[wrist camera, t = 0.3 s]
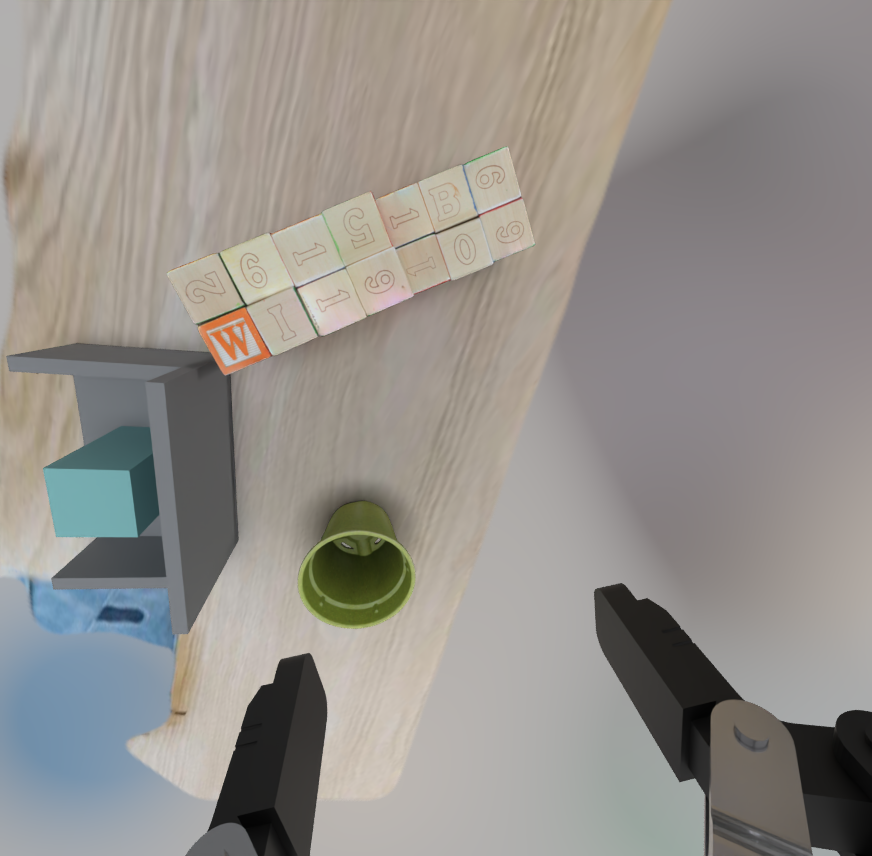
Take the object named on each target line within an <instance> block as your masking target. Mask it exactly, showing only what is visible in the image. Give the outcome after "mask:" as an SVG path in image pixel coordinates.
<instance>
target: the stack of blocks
mask: <svg viewBox="0 0 872 856" xmlns="http://www.w3.org/2000/svg"><path fill="white" fill-rule="evenodd" d="M534 245H535V242H534V238H533V234H532V230H531V227H530V223H529V220H528V216H527V212H526V208H525V204H524V200H523V199H522V198H521V193H520V189H519V185H518V181H517V177H516V174H515V170H514V167H513V163H512V159H511V155H510V152H509V149H508V147H507V146H506V147H503V148H501V149H498V150H496V151H494V152H491V153H489V154H486V155H484V156H482V157H479V158H477V159H474V160H472V161H470V162H468V163H466V164H464V165H458V166H455V167H453V168H450V169H448V170H446V171H443V172H441V173H438V174H436V175H434V176H431V177H429V178H426V179H424V180H422V181H419V182H418V183H414V184H411V185H409V186H406V187H404V188H401V189H399V190H397V191H394V192H392V193H390V194H387V195H385V196H383V197H380V198H378V199H376V200H375V199H374V196H373V194H372V192H371V191H369V192H367V193H364V194H362V195H360V196H357V197H355V198H353V199H350V200H348V201H345V202H343V203H341V204H338V205H336V206H334V207H331V208H329V209H326V210H324V211H323V212H322V213H321V214H319V215H316V216H314V217H311V218H308V219H306V220H304V221H301V222H299V223H296V224H294V225H292V226H289V227H287V228H284V229H282V230H279V231H277V232H275V233H273V234H271V233H266V234H263V235H261V236H258V237H256V238H253V239H251V240H248V241H246V242H244V243H241V244H239V245H236V246H234V247H231V248H228V249H226V250H223V251H222V252H220V253H215V254H211V255H209V256H206V257H204V258H201V259H198V260H196V261H193V262H191V263H188V264H185V265H183V266H180V267H178V268H175V269H173V270H170V271H169V272H167V276H168V278H169V279H170V281H171V283H172V285H173V287H174V288H175V290H176V292H177V294H178V296H179V297H180V299H181V301H182V303H183V305H184V306H185V308H186V310H187V312H188V314H189V316H190V318H191V319H192V321H193V323H194V324H197V325H198V330H199V333H200V335H201V337H202V338H203V340H204V342H205V343H206V345H207V347H208V349H209V351H210V352H211V354H212V356H213V357H214V359H215V361H216V363H217V364H218V366H219V368H220V370H221V371H222V373H223V374H224V375H225V376H226V375H228V374H231V373H233V372H236V371H238V370H240V369H243V368H245V367H247V366H250V365H252V364H255V363H257V362H260V361H262V360H264V359H267V358H269V357H271V356H276V355H278V354H281V353H283V352H285V351H287V350H290V349H292V348H294V347H296V346H299V345H301V344H303V343H305V342H308V341H310V340H312V339H314V338H316V337H318V336H326V335H328V334H331V333H333V332H335V331H337V330H339V329H342V328H344V327H347V326H349V325H351V324H353V323H356V322H358V321H360V320H362V319H364V318H366V317H368V316H370V315H373V314H375V313H377V312H380V311H382V310H384V309H386V308H389V307H391V306H393V305H396V304H398V303H400V302H403V301H405V300H407V299H410V298H412V297H413V296H414V294H417V293H419V292H422V291H424V290H427V289H429V288H432V287H434V286H437V285H439V284H442V283H444V282H447V281H454V280H456V279H459V278H461V277H464V276H467V275H469V274H472V273H474V272H476V271H479V270H481V269H484V268H486V267H489V266H491V265H493V263H494V262H495V261H497V260H500V259H502V258H505V257H507V256H510V255H512V254H515V253H517V252H520V251H522V250H525V249H527V248H530V247H532V246H534Z"/></svg>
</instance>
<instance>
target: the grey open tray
mask: <svg viewBox="0 0 872 856" xmlns="http://www.w3.org/2000/svg"><path fill="white" fill-rule="evenodd" d="M6 357H7V362H8V367H9V371H12V372H29V373H46V374H63V375H73V377H74V383H75V389H76V396H77V402H78V408H79V415H80V421H81V427H82V433H83V440H84V446H85V445H87V444H89V443H91V442H93V441H94V440H96V439H98V438H100V437H102V436H104V435H106V434H107V433H109V432H111V431H113V430H115V429H117V428H118V427H120V426H133V427H150V431H151V440H152V449H153V458H154V468H155V477H156V486H157V495H158V504H159V514H160V515H159V516H158V517H157V518H156V519H155V520H154V521H153V522H152V523H151V524H150V525H149V526H148V527H147V528H146V529H145V530H144V531H143V532H142V534H141V535H140V536H139V537H97V538H96V539H95V540H94V541H93V542H91V543H90V544H89V545H88V546H87V547H86V548H85V549H84V550H82V551H81V552H80V553H79V554H78V555H77V556H76V557H75V558H74V559H72V560H71V561H70V562H69V563H68V564H67V565H66V566H65V567H64V568H62V569H61V570H60V571H59V572H58V573H57V574H56V575H55V576H54V577H52V578H51V579H52V584H53V589H125V588H168V596H169V605H170V615H171V624H172V633H173V634H188V633H189V631H190V629H191V627H192V626H193V624H194V622H195V620H196V618H197V616H198V614H199V612H200V611H201V609H202V607H203V605H204V603H205V601H206V599H207V598H208V596H209V594H210V592H211V590H212V588H213V586H214V585H215V583H216V581H217V579H218V577H219V575H220V573H221V571H222V570H223V568H224V566H225V564H226V562H227V560H228V558H229V557H230V555H231V553H232V551H233V549H234V547H235V545H236V544H237V542H238V522H237V502H236V481H235V461H234V441H233V420H232V400H231V380H230V374H228V375H226V376H225V375H224V374H223V373H222V371H221V370H220V368H219V366H218V364H217V363H216V361H215V359H214V357H213V356H212V354H211V353H208V352H193V351H179V350H165V349H150V348H136V347H122V346H107V345H93V344H79V343H76V344H71V345H65V346H59V347H54V348H48V349H43V350H37V351H32V352H26V353H21V354H15V355H9V356H6Z"/></svg>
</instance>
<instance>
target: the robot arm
mask: <svg viewBox="0 0 872 856" xmlns="http://www.w3.org/2000/svg"><path fill="white" fill-rule="evenodd" d="M594 600H595V619H596V631H597V637H598V640H599V643H600V646H601V648H602V651H603V653H604V655H605V656H606V658H607V660H608V661H609V663H610V665H611V667H612V668H613V670H614V672H615V673H616V675H617V677H618V678H619V680H620V682H621V683H622V685H623V687H624V689H625V690H626V692H627V694H628V695H629V697H630V699H631V700H632V702H633V704H634V705H635V707H636V709H637V710H638V712H639V714H640V716H641V717H642V719H643V721H644V722H645V724H646V726H647V728H648V729H649V731H650V733H651V734H652V736H653V738H654V739H655V741H656V743H657V744H658V746H659V748H660V750H661V751H662V753H663V755H664V756H665V758H666V760H667V761H668V763H669V765H670V766H671V768H672V770H673V772H674V773H675V775H676V777H677V778H678V780H679V782H682V781H686V780H690V779H694V778H695V779H696V780H697V782H698V783H699V785H700V787H701V788H702V790H703V792H704V793H705V801H704V802H705V803H704V808H705V809H704V856H813V854H812V849H811V847H816V848H822V849H829V850H835V851H837V852H838V853H839V854H840V856H872V712H868V711H862V710H852V711H847V712H845V713H843V714H841V715H840V716H839V717H838V719H837V721H836V725H835V727H824V726H814V725H803V724H793V723H787V722H784V721H780V720H778V719H777V718H776V717H775V716H774V715H772V714H771V713H770V712H768V711H767V710H765V709H763V708H762V707H760V706H758V705H755V704H753V703H750V702H747V701H745V700H743V699H742V698H741V697H740V696H739V695H738V693H737V692H736V691H735V690H734V689H733V688H732V687H731V685H730V684H729V683H728V682H727V681H726V679H725V678H724V677H723V676H722V675H721V674H720V672H719V671H718V670H717V669H716V668H715V667H714V665H713V664H712V663H711V662H710V661H709V660H708V658H707V657H706V656H705V655H704V654H703V653H702V651H701V650H700V649H699V648H698V647H697V646H696V644H695V643H693V642H692V640H691V639H690V638H689V636H688V635H687V634H686V633H685V632H684V630H681V628H680V626H679V624H678V623H677V622H676V621H675V620H674V619H673V618H672V616H671V615H670V614H669V613H668V612H667V611H666V610H665V609H663V608H662V607H660V606H659V605H657V604H656V603H654V602H652V601H651V600H649V599H648V598H646V599H642V600H638V601H637V600H636V598H635V597H634V596H633V595H632V593H631V592H630V591H629V590H628V588H627V587H626V586H625V585H624V584H622V583H620V584H616V585H611V586H606V587H602V588H597V589H595V592H594ZM326 722H327V700H326V694H325V691H324V688H323V685H322V682H321V680H320V677H319V674H318V671H317V669H316V666H315V663H314V660H313V658H312V656H311V654H310V653H307V654H302V655H298V656H294V657H289V658H285V659H281V660H280V662H279V664H278V667H277V671H276V674H275V678H274V682H273V683H272V684H267V685H263V686H261V688H260V689H259V690H258V692H257V693H256V695H255V696H254V698H253V699H252V701H251V702H250V704H249V705H248V707H247V711H246V714H245V717H244V720H243V723H242V726H241V732H240V733H239V736H238V739H237V742H236V745H235V747H236V749H235V751H234V752H233V755H232V758H231V761H230V764H229V767H228V771H227V774H226V777H225V780H224V783H223V786H222V790H221V793H220V796H219V799H218V802H217V806H216V809H215V812H214V815H213V818H212V821H211V824H210V827H209V829H208V831H207V833H206V834H205V835H203V836H202V837H201V838H200V839H199V840H198V841H197V842H196V843H195V844H194V845H193V846H192V847H191V849H190V850H189V851H188V853H187V854H186V856H310V848H311V840H312V832H313V824H314V817H315V808H316V801H317V793H318V785H319V777H320V769H321V761H322V754H323V746H324V738H325V730H326Z"/></svg>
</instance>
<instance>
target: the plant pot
mask: <svg viewBox="0 0 872 856" xmlns="http://www.w3.org/2000/svg"><path fill="white" fill-rule="evenodd" d="M378 538H381V541H380V542H379V543H378V544H375V541H376V540H377V539H378ZM342 542H344V543H345V544H347V545H349V546H351V547H353V549H349V548H346V547H344V546H343V545H342V544H341V543H342ZM414 585H415V568H414V564H413V561H412V559H411V557H410V555H409V553H408V552H407V550H406V549H405V548H404V547H403V546H402V545H401V544H400V543H399V542H398V541H397V539H396V536H395V533H394V531H393V528H392V525H391V522H390V520H389V517H388V516H387V514H386V512H385V511H384V510H383V509H382V508H381V507H379V506H378V505H376V504H374V503H371V502H367V501H359V502H354V503H349V504H345V505H343V506H342V507H340V508H339V509H338V510H337V511H336V512H335V513H334V514H333V516H332V517H331V519H330V522H329V524H328V526H327V528H326V530H325V532H324V534H323V537H322V539H321V541H320V542H319V543H317V544H316V545H315V546H314V547H313V548H312V549H311V550H310V551H309V552H308V554H307V555H306V557H305V558H304V560H303V562H302V564H301V567H300V570H299V574H298V590H299V594H300V597H301V600H302V602H303V604H304V605H305V607H306V608H307V609H308V610H309V612H311V613H312V614H313V615H314V616H315V617H317V618H318V619H319V620H321V621H323V622H325V623H327V624H330V625H333V626H336V627H340V628H351V629H359V628H366V627H371V626H375V625H377V624H380V623H382V622H384V621H386V620H388V619H389V618H391V617H393V616H394V615H396V614H397V613H398V612H399V611H400V610H401V609H402V608H403V607H404V605H405V604H406V603H407V602H408V600H409V598H410V596H411V594H412V592H413V589H414Z"/></svg>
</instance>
